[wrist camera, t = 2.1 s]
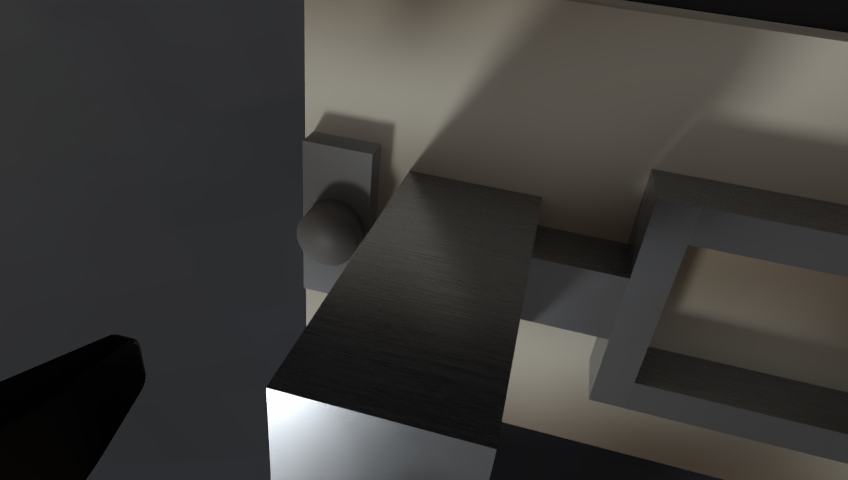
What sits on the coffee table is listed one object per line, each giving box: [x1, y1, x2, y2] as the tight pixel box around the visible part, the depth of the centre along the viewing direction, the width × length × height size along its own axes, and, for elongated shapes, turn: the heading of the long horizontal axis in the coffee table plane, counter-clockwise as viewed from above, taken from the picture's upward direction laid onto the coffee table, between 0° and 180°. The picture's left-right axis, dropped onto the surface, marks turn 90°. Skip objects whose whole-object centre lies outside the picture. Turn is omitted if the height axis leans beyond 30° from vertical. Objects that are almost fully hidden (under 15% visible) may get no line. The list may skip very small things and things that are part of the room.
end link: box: [266, 169, 848, 480], centre depth 10 cm, size 5×13×7 cm, turn 84°
